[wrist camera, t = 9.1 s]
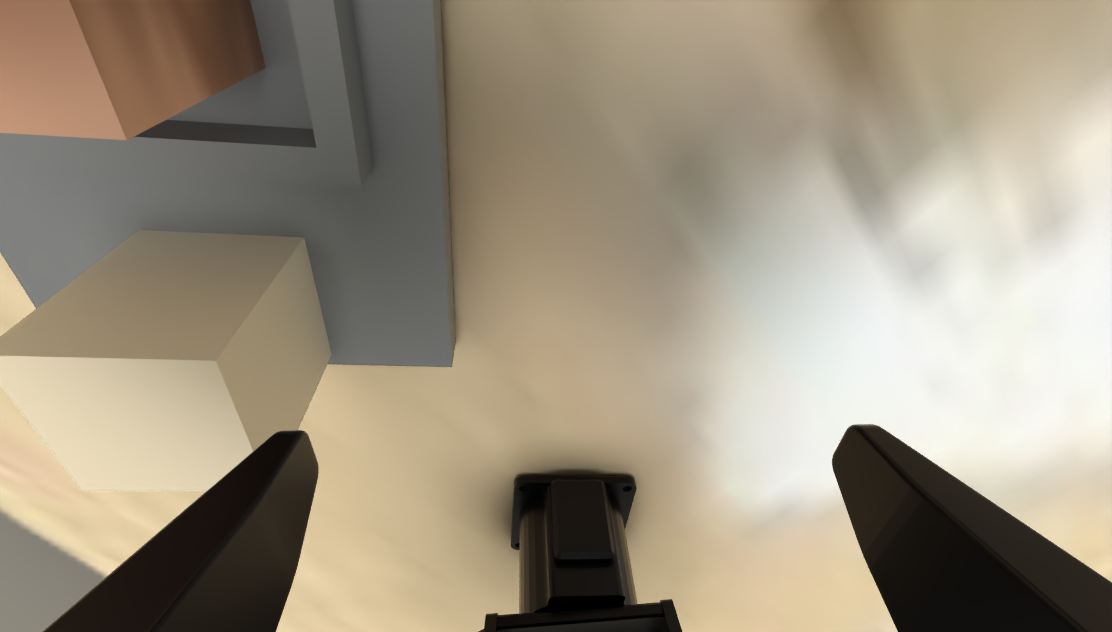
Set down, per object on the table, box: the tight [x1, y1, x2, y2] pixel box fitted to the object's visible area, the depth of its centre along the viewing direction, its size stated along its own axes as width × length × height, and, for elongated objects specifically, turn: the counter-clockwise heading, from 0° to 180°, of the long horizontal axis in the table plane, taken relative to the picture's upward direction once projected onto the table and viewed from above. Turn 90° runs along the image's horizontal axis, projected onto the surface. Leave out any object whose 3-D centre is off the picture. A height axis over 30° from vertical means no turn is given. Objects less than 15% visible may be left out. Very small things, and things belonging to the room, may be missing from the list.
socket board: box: [0, 0, 456, 491], centre depth 12 cm, size 18×14×8 cm
